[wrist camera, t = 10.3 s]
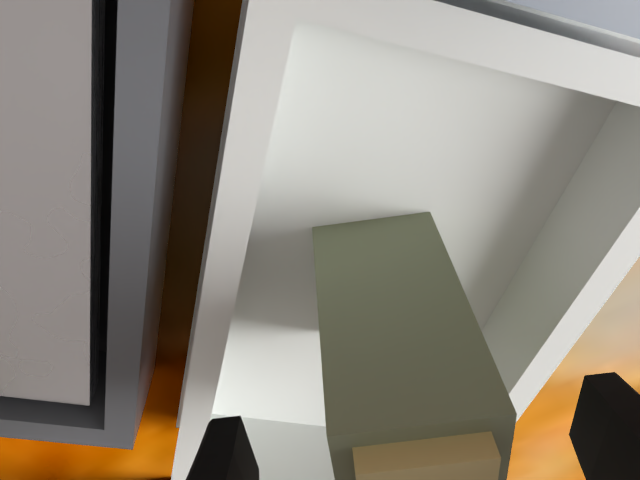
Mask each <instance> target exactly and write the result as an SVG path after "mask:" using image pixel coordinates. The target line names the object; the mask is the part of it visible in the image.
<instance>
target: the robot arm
mask: <svg viewBox="0 0 640 480" xmlns="http://www.w3.org/2000/svg"><path fill="white" fill-rule="evenodd" d="M569 436H570V438H571V441H572V444H573V447H574V449H575V452H576V455H577V457H578V460H579V463H580V465H581V468H582V470H583V473H584V475H585V478H586V480H640V395H639V394H638V393H637V392H636V391H635V390H634V389H633V388H632V387H631V386H630V385H629V384H627V383H626V382H625V381H624V380H623V379H622V378H621V377H620V376H619V375H617V374H616V373H615V372H612V373H603V374H595V375H586V376H584V380H583V384H582V388H581V391H580V395H579V399H578V403H577V406H576V410H575V414H574V418H573V422H572V425H571V429H570V433H569ZM186 480H259V467H258V464H257V462H256V459H255V456H254V453H253V450H252V447H251V444H250V441H249V438H248V435H247V433H246V430H245V427H244V424H243V421H242V418H241V416H232V417H223V418H215V419H212V420H211V421H210V422H209V423H208V425H207V428H206V431H205V433H204V436H203V439H202V441H201V444H200V446H199V449H198V451H197V454H196V456H195V459H194V461H193V464H192V466H191V468H190V471H189V473H188V475H187V478H186Z"/></svg>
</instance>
